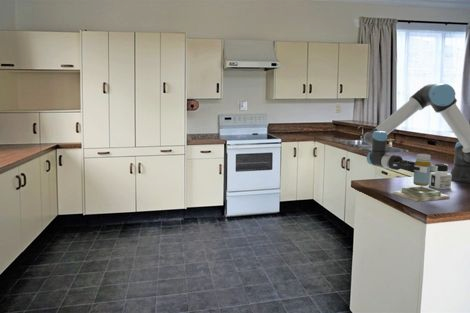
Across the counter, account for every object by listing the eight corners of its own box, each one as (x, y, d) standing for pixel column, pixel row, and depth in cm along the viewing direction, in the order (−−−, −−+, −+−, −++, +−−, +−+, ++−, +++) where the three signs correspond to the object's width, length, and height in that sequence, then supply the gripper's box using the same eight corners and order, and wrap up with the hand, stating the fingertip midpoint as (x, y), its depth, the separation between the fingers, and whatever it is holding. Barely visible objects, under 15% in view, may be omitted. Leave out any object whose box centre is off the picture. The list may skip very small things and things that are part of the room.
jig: (424, 190, 198) (424, 184, 198) (449, 198, 183) (450, 192, 182) (392, 193, 192) (393, 187, 192) (416, 201, 177) (416, 195, 177)
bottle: (424, 183, 190) (426, 153, 188) (431, 186, 183) (434, 155, 181) (410, 182, 190) (413, 153, 188) (417, 186, 183) (420, 155, 181)
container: (439, 189, 201) (441, 165, 199) (428, 186, 209) (430, 163, 206) (450, 188, 203) (453, 164, 201) (439, 185, 211) (441, 162, 209)
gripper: (404, 167, 206) (444, 175, 186) (378, 170, 197) (417, 178, 177) (405, 154, 205) (445, 160, 185) (379, 156, 196) (418, 163, 176)
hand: (431, 169), depth 181 cm, fingers closed on bottle, 7 cm apart
